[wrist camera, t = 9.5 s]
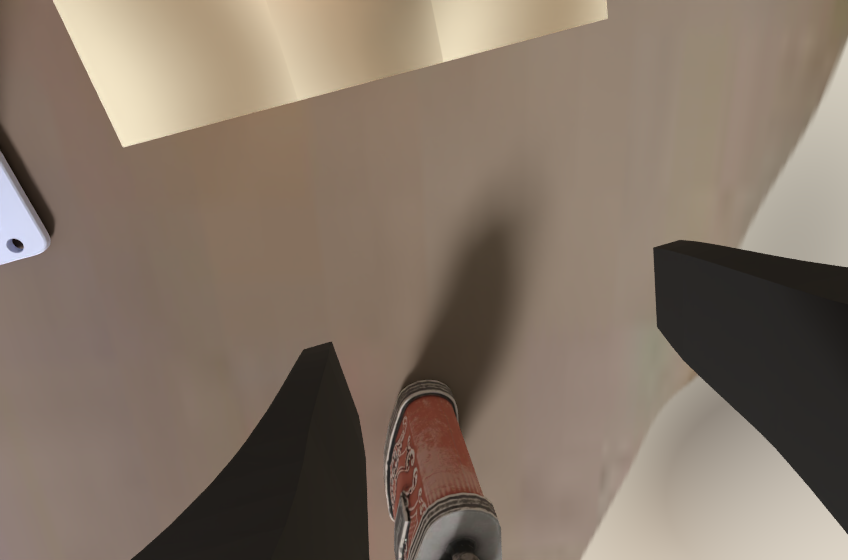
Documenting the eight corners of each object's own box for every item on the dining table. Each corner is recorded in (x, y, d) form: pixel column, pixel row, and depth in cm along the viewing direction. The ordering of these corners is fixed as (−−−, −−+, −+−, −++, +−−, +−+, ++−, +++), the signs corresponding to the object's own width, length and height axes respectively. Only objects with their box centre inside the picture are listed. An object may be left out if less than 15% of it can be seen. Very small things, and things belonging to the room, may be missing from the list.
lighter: (390, 380, 24) (431, 584, 15) (464, 379, 25) (544, 573, 16) (378, 515, 28) (405, 749, 19) (443, 511, 28) (501, 735, 19)
